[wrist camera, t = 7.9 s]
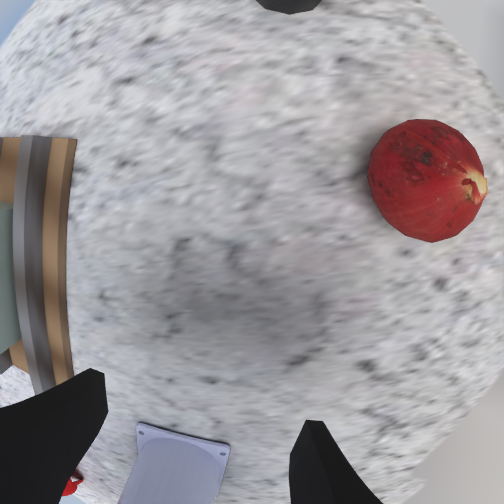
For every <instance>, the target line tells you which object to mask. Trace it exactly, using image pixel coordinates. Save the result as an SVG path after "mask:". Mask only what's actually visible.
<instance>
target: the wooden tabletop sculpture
mask: <svg viewBox="0 0 504 504" xmlns="http://www.w3.org/2000/svg"><path fill="white" fill-rule="evenodd" d="M256 1H257V2H259V3H260V4H261V5H262V6H263V7H264V8H265V9H269V10H273V11H278V12H282V13H286V14H294V13H299V12H304V11H309V10H313V9H314V8H315V7H316V6H317V5H318V4H319V2H320V1H321V0H256Z"/></svg>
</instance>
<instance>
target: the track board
mask: <svg viewBox="0 0 504 504" xmlns="http://www.w3.org/2000/svg"><path fill="white" fill-rule="evenodd" d="M76 143H77V140H76V139H69V138H50V137H41V136H21V138H0V202H7V203H12V204H14V206H13V264H14V280H15V291H16V301H17V309H18V317H19V323H20V330H21V335H22V339H20V340H19V341H17V342H16V343H15V344H13V345H12V346H11V347H9V348H8V349H7V350H6V351H4V352H3V353H2V354H0V374H2V373H4V372H5V371H6V370H7V369H8V368H10V367H11V366H12V365H14V366H16V367H18V368H20V369H21V370H23V371H25V372H27V373H28V374H30V378H31V381H32V385H33V389H34V392H35V395H38V394H40V393H42V392H44V391H47V390H49V389H51V388H53V387H55V386H57V385H59V384H60V383H62V382H64V381H66V380H68V379H70V378H72V377H74V373H73V366H72V359H71V351H70V342H69V332H68V320H67V303H66V231H67V215H68V203H69V193H70V184H71V175H72V168H73V161H74V155H75V149H76Z"/></svg>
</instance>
